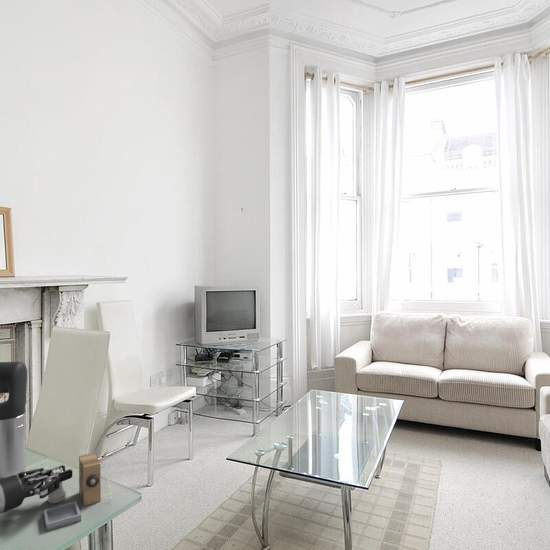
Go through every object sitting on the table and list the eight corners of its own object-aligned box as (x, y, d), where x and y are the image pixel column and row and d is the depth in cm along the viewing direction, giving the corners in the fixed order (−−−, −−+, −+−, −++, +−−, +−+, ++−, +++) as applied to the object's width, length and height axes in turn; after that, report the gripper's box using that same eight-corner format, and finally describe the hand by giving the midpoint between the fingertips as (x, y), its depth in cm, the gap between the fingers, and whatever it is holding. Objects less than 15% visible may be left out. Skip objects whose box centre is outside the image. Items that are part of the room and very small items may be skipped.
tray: (43, 515, 106) (43, 509, 106) (76, 506, 110) (76, 501, 110) (46, 531, 99) (46, 524, 99) (81, 520, 103) (81, 514, 103)
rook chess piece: (69, 498, 113) (69, 468, 113) (53, 506, 110) (53, 475, 110) (60, 493, 116) (60, 464, 116) (44, 500, 112) (44, 470, 112)
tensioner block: (79, 492, 117) (78, 456, 117) (94, 488, 119) (94, 452, 119) (84, 507, 109) (84, 468, 109) (101, 502, 111) (101, 464, 111)
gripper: (9, 491, 97) (81, 464, 111) (-16, 473, 106) (55, 450, 119) (9, 524, 97) (81, 492, 111) (-16, 504, 106) (55, 477, 119)
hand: (67, 471), depth 115 cm, fingers closed on rook chess piece, 3 cm apart
